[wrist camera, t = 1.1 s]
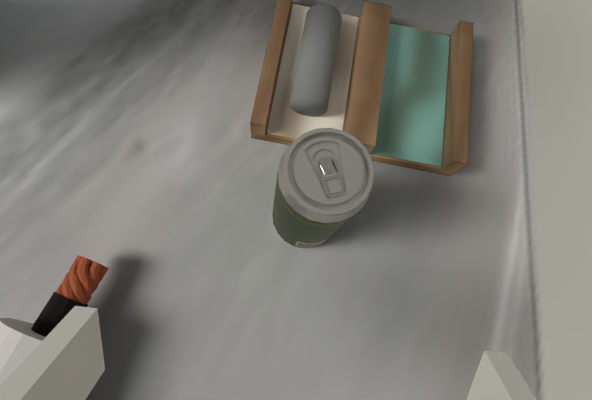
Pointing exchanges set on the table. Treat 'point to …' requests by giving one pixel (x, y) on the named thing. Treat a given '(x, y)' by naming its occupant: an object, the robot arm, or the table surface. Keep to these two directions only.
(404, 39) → the caddy
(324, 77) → the smooth gray cylinder
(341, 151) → the beer can
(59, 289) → the cable
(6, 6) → the table surface
